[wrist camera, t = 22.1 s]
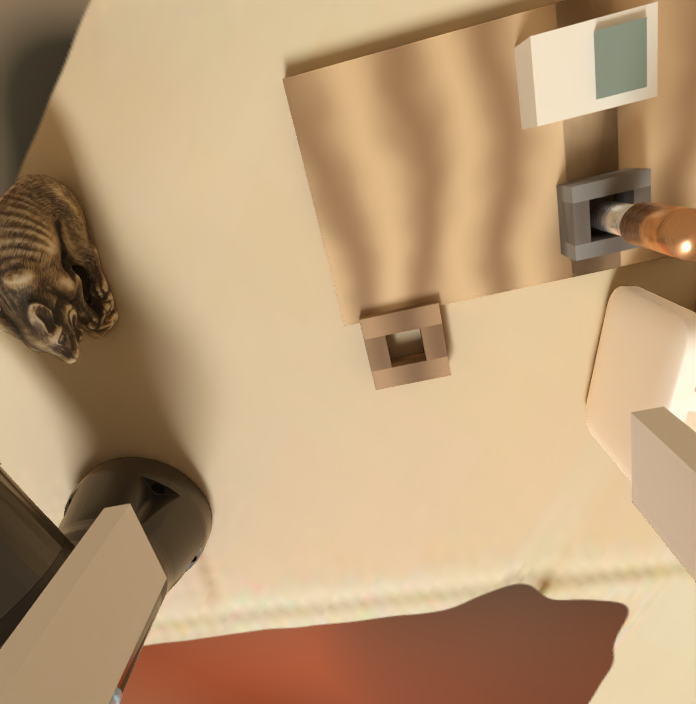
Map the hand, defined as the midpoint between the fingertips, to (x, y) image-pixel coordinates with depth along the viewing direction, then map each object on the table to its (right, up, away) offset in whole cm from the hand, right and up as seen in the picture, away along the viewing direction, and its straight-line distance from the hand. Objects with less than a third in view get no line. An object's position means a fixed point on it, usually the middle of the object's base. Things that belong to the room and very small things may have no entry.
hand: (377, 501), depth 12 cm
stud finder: (+16, +24, +22) cm, 37 cm away
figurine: (-25, +12, +30) cm, 41 cm away
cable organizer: (+27, +4, +32) cm, 42 cm away
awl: (+19, +15, +26) cm, 36 cm away
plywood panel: (+11, +19, +26) cm, 34 cm away
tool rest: (+5, +5, +32) cm, 33 cm away
